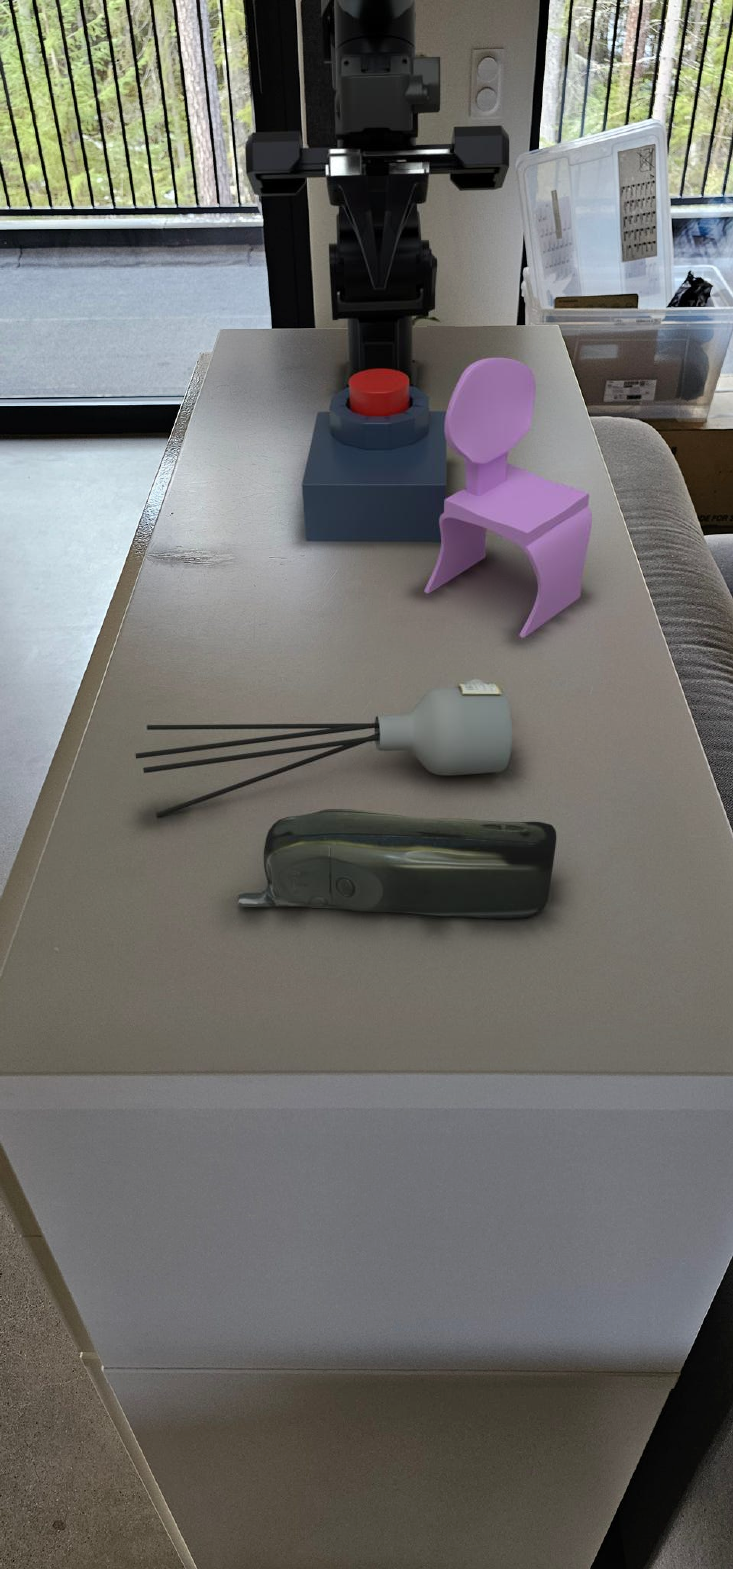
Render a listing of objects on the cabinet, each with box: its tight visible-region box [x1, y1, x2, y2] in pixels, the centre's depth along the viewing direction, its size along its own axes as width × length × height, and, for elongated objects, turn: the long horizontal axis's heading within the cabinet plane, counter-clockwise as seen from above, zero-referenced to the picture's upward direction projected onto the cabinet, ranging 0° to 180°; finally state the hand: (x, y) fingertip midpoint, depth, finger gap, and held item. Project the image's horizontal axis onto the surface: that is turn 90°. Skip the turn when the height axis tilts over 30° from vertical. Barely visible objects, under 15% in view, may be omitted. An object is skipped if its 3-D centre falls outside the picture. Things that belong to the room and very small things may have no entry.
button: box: [349, 369, 409, 417], centre depth 81 cm, size 4×4×2 cm
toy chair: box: [423, 357, 593, 639], centre depth 68 cm, size 8×9×15 cm
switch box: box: [301, 386, 448, 543], centre depth 81 cm, size 13×10×6 cm
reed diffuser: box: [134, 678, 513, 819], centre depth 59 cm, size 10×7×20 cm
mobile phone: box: [237, 808, 557, 920], centre depth 52 cm, size 5×3×15 cm
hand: (379, 289), depth 82 cm, fingers closed
